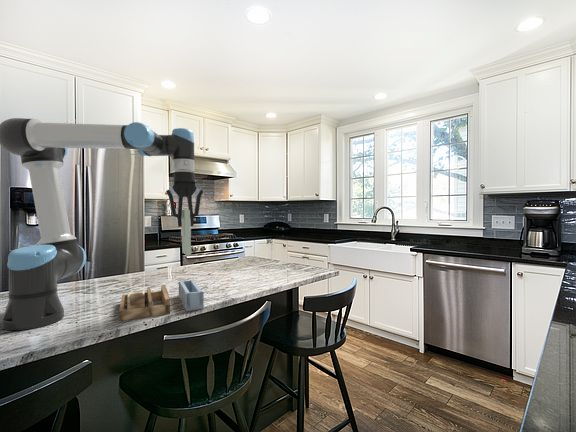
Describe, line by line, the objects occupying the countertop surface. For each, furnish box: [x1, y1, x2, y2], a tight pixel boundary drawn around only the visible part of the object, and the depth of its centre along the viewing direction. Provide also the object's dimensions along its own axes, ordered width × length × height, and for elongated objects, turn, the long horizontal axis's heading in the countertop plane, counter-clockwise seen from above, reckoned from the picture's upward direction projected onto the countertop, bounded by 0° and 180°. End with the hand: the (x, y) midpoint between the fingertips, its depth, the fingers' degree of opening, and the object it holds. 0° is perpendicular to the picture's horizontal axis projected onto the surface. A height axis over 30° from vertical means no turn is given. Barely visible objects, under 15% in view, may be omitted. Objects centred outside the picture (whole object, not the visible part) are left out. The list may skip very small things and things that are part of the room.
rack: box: [118, 285, 171, 322], centre depth 108 cm, size 15×20×5 cm
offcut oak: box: [126, 299, 146, 309], centre depth 102 cm, size 5×6×4 cm
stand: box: [178, 279, 205, 312], centre depth 115 cm, size 6×20×6 cm, turn 26°
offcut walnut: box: [128, 293, 146, 306], centre depth 102 cm, size 4×5×2 cm
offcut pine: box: [126, 290, 146, 306], centre depth 111 cm, size 5×6×4 cm
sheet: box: [181, 209, 192, 256], centre depth 114 cm, size 2×12×16 cm, turn 26°
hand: (186, 235), depth 114 cm, fingers closed on sheet, 2 cm apart
